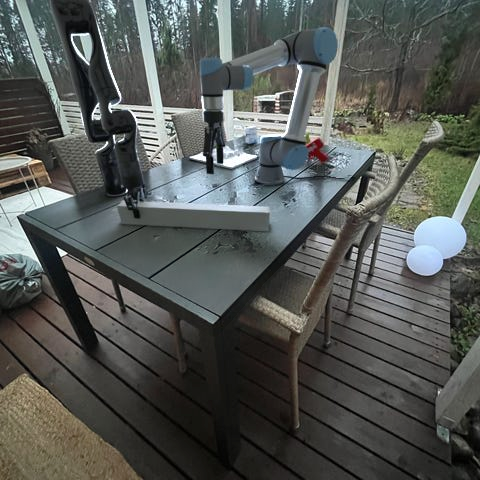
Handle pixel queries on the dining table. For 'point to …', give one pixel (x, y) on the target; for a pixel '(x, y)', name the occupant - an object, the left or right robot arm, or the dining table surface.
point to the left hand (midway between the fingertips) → (140, 214)
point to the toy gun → (316, 150)
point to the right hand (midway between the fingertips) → (215, 168)
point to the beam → (198, 215)
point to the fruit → (307, 138)
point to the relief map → (228, 157)
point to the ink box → (251, 134)
